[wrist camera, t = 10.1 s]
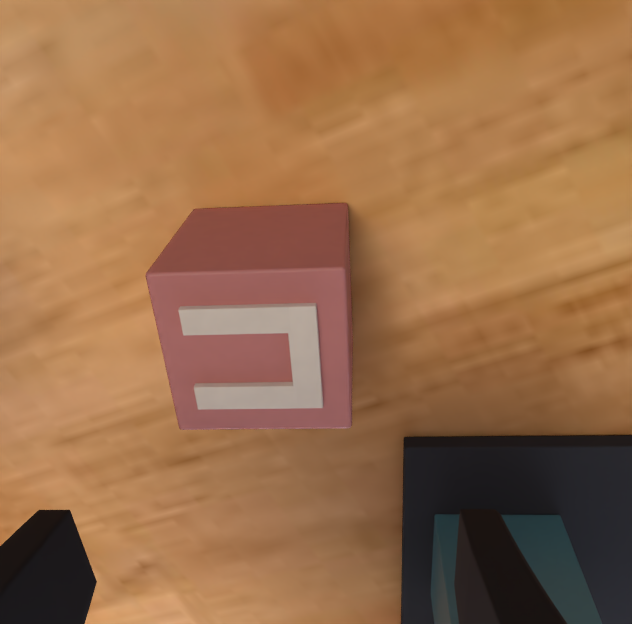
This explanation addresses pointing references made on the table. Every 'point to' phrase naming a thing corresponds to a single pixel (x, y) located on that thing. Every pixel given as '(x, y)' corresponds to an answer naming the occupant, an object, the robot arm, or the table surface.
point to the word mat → (523, 505)
